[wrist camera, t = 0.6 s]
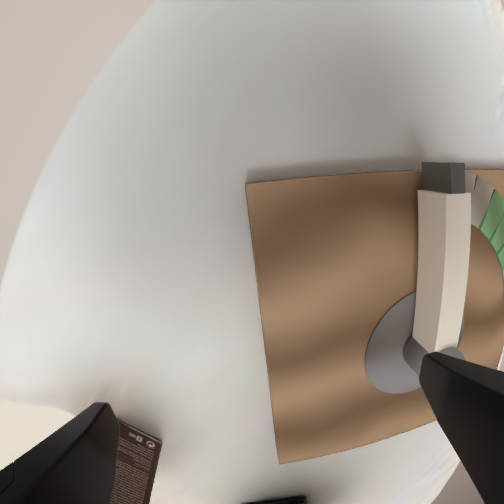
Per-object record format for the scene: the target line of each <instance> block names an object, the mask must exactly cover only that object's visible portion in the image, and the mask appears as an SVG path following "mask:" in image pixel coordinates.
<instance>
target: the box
mask: <svg viewBox="0 0 504 504" xmlns="http://www.w3.org/2000/svg"><path fill="white" fill-rule="evenodd" d="M117 421H118V423H119V427H120V433H119V443H118V453H117V465H116V474H115V480H114V485H113V490H112V495H111V500H110V504H149V502H150V497H151V491H152V487H153V483H154V478H155V473H156V469H157V464H158V460H159V455H160V451H161V447H162V443H161V442H160V441H158V440H157V439H155V438H154V437H152V436H149V435H147V434H145V433H143V432H142V431H139V430H137V429H135V428H133V427H131V426H128V425H127V424H125V423H123V422H121V421H119V420H117Z"/></svg>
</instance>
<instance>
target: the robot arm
mask: <svg viewBox="0 0 504 504" xmlns="http://www.w3.org/2000/svg"><path fill="white" fill-rule="evenodd" d="M419 382H420V385H421V387H422V390H423V392H424V394H425V396H426V398H427V400H428V402H429V404H430V406H431V408H432V411H433V413H434V415H435V417H436V419H437V421H438V423H439V425H440V426H441V428H442V430H443V431H444V433H445V435H446V436H447V438H448V440H449V441H450V443H451V445H452V446H453V448H454V450H455V451H456V453H457V455H458V456H459V458H460V460H461V461H462V463H463V465H464V467H465V469H466V470H467V472H468V474H469V475H470V477H471V479H472V481H473V483H474V485H475V486H476V488H477V490H478V492H479V494H480V495H481V498H482V499H483V501H484V503H485V504H504V372H502V371H499V370H495V369H492V368H489V367H485V366H482V365H479V364H475V363H472V362H469V361H465V360H462V359H459V358H456V357H452V356H449V355H446V354H443V353H440V352H431V353H428V354H426V355H424V356H423V358H422V363H421V369H420V374H419ZM119 433H120V427H119V423H118V421H117V418H116V416H115V414H114V412H113V410H112V408H111V406H110V404H109V403H107V402H95V403H93V404H92V405H91V406H89V407H88V408H87V409H85V410H84V411H83V412H81V413H80V414H79V415H77V416H76V417H74V419H72V420H71V421H69V422H68V423H66V424H65V425H64V426H62V427H61V428H59V429H58V430H57V431H55V432H54V433H53V434H51V435H50V436H49V437H47V438H46V439H45V440H43V441H42V442H40V443H39V444H37V445H36V446H35V447H33V448H32V449H31V450H29V451H28V452H26V453H25V454H23V455H22V456H21V457H19V458H18V459H16V460H15V461H14V463H13V462H12V463H11V464H10V465H8V466H7V467H5V468H4V469H2V470H1V471H0V504H110V500H111V495H112V490H113V485H114V480H115V474H116V465H117V453H118V443H119ZM255 504H307V498H306V497H305V496H301V497H296V498H290V499H284V500H278V501H271V502H264V503H255Z"/></svg>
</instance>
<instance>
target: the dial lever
mask: <svg viewBox="0 0 504 504" xmlns="http://www.w3.org/2000/svg"><path fill="white" fill-rule="evenodd" d="M422 176H423V190H418V231H419V233H418V274H417V291H416V305H415V316H414V326H413V335H412V337H411V339H410V340H409V341H408V343H407V345H406V347H405V350H404V359H405V361H406V363H407V364H408V365H409V366H410V367H411V368H412V370H413V371H414V372H415V373H416V374H417V375H418V376H419V374H420V369H421V363H422V358H423V356H424V355H426V354H428V353H431V352H440V353H443V354H446V355H449V356H452V357H456V358H459V359H462V360H465V357H464V355H463V354H462V353H461V352H460V351H459V350H457V345H458V340H459V334H460V329H461V323H462V317H463V310H464V303H465V296H466V288H467V278H468V268H469V255H470V236H471V193H468V192H466V187H465V166H464V163H448V162H422Z"/></svg>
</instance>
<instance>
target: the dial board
mask: <svg viewBox="0 0 504 504" xmlns="http://www.w3.org/2000/svg"><path fill="white" fill-rule="evenodd" d="M465 187H466V192H468V193H471V236H470V255H469V268H468V278H467V288H466V296H465V303H464V310H463V317H462V323H461V329H460V334H459V340H458V345H457V350H459V351H460V352H461V353H462V354H463V355H464V357H465V361H469V362H472V363H475V364H479V365H482V366H485V367H489V368H492V369H495V370H497V367H498V363H499V360H500V356H501V353H502V349H503V345H504V170H496V169H465ZM245 188H246V196H247V205H248V213H249V221H250V229H251V238H252V246H253V254H254V263H255V271H256V279H257V288H258V296H259V304H260V313H261V321H262V329H263V338H264V346H265V354H266V363H267V371H268V380H269V388H270V396H271V405H272V413H273V422H274V430H275V438H276V447H277V455H278V460H279V464H284V463H290V462H296V461H301V460H306V459H311V458H316V457H320V456H325V455H329V454H333V453H338V452H342V451H345V450H349V449H353V448H357V447H360V446H364V445H367V444H371V443H374V442H377V441H380V440H383V439H387V438H390V437H393V436H396V435H398V434H401V433H404V432H407V431H410V430H412V429H415V428H418V427H420V426H423V425H425V424H428V423H430V422H433V421H435V420H437V419H436V417H435V415H434V413H433V411H432V408H431V406H430V404H429V402H428V400H427V398H426V396H425V394H424V392H423V390H422V387H421V385H420V382H419V376H418V375H417V374H416V373H415V372H414V371H413V370H412V368H411V367H410V366H409V365H408V364H407V363H406V361H405V359H404V350H405V347H406V345H407V343H408V341H409V340H410V339H411V337H412V335H413V326H414V316H415V305H416V291H417V274H418V233H419V231H418V190H423V176H422V170H411V171H388V172H370V173H354V174H340V175H327V176H316V177H305V178H294V179H284V180H275V181H266V182H257V183H249V184H245Z"/></svg>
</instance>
